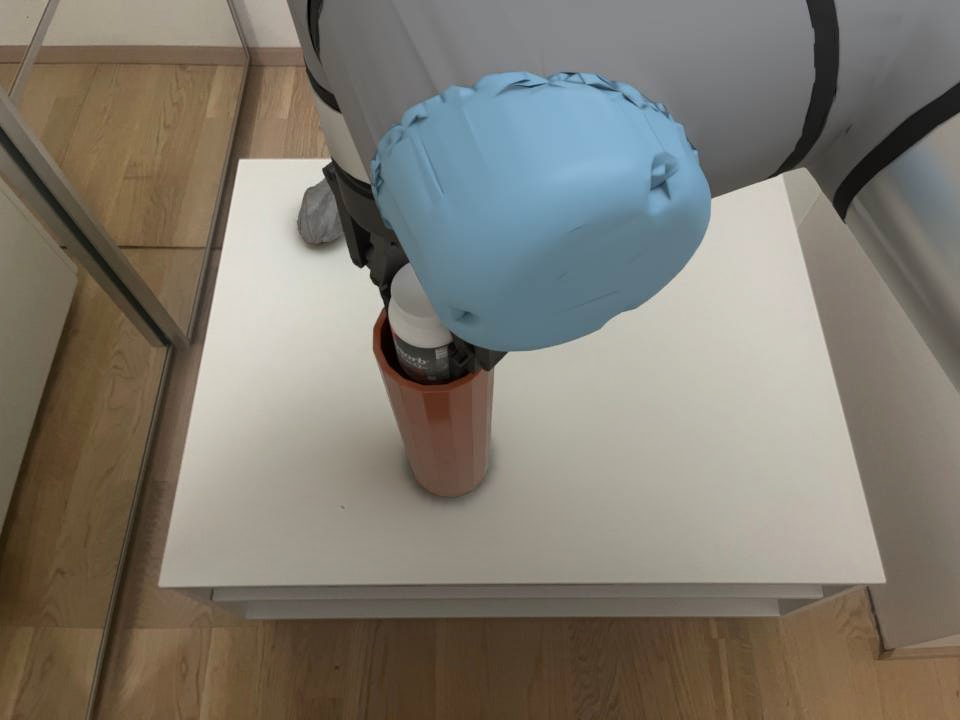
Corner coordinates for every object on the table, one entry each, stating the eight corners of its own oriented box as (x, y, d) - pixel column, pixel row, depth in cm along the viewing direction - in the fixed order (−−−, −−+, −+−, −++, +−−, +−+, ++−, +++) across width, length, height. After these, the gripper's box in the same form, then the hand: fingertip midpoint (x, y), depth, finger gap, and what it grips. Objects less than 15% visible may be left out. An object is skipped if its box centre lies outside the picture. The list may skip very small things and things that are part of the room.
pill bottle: (383, 350, 52) (364, 283, 43) (438, 309, 54) (431, 235, 45) (429, 401, 51) (420, 341, 42) (485, 357, 52) (487, 290, 43)
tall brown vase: (504, 456, 79) (520, 331, 50) (451, 513, 76) (435, 417, 47) (448, 407, 82) (432, 262, 53) (395, 461, 79) (347, 339, 50)
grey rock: (306, 190, 96) (292, 151, 89) (369, 191, 96) (360, 152, 89) (295, 255, 91) (280, 219, 84) (361, 256, 91) (351, 220, 84)
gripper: (615, 193, 30) (559, 392, 51) (331, 3, 35) (386, 254, 56) (505, 301, 27) (493, 462, 48) (218, 79, 33) (320, 311, 54)
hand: (436, 350), depth 52 cm, fingers closed on pill bottle, 6 cm apart
